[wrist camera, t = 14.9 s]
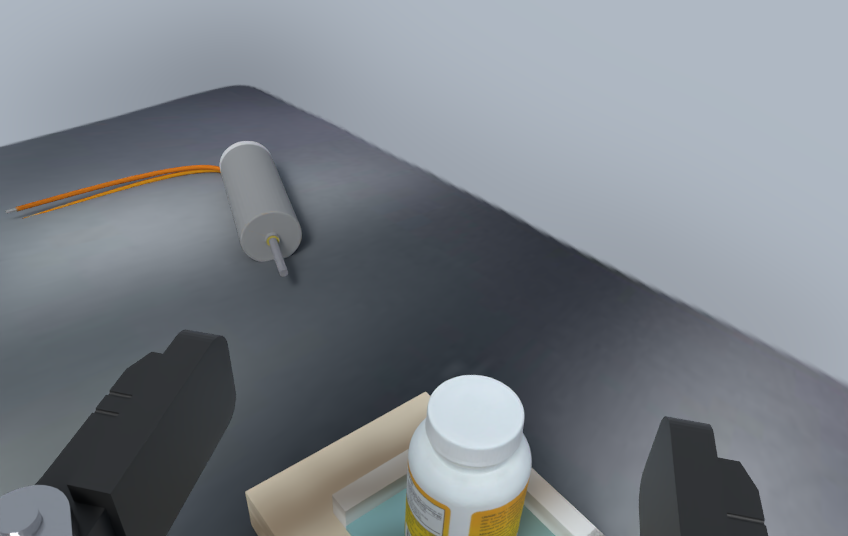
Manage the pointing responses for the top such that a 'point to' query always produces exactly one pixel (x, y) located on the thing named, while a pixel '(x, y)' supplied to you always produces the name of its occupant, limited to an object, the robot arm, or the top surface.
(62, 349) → the top surface
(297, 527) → the dock
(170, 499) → the robot arm
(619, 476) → the top surface
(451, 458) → the supplement bottle
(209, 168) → the motor
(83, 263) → the top surface
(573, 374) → the top surface
